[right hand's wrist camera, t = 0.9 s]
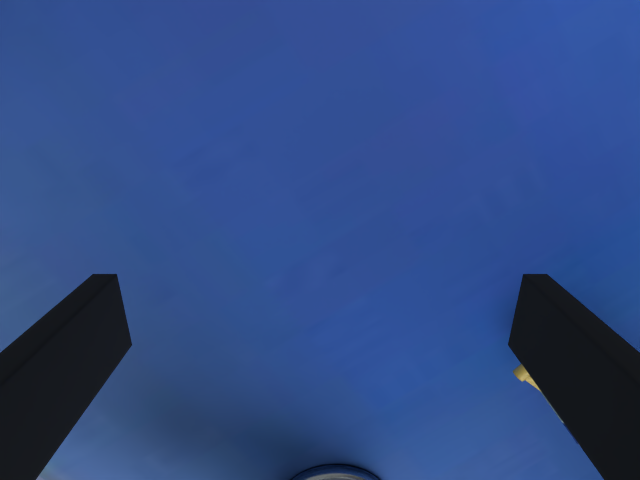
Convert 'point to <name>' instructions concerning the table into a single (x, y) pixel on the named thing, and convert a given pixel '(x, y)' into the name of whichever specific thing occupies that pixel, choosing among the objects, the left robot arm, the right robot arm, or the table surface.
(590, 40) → the table surface
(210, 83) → the table surface
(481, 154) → the table surface
